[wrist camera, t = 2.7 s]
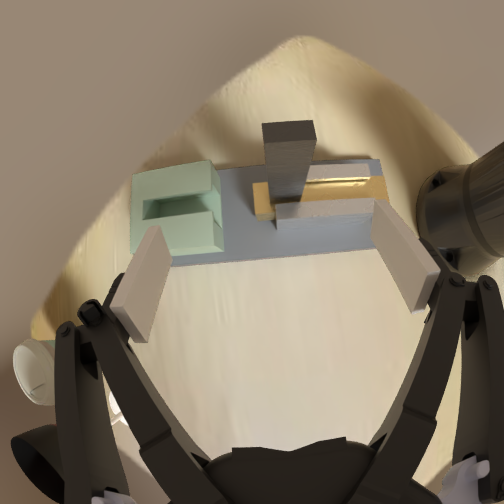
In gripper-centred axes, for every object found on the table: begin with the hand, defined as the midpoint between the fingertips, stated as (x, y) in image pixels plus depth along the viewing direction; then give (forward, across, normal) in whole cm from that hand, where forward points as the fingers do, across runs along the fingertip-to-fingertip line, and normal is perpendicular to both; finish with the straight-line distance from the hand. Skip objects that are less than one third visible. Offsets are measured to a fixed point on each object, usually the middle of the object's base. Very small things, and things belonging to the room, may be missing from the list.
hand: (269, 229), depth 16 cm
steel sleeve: (+14, +6, -6) cm, 16 cm away
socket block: (+14, -10, -6) cm, 18 cm away
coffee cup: (+3, -29, -20) cm, 35 cm away
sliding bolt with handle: (+13, +6, -5) cm, 15 cm away
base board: (+15, +1, -7) cm, 16 cm away
